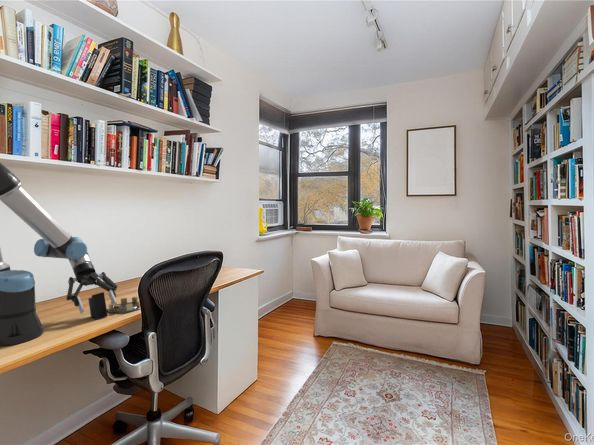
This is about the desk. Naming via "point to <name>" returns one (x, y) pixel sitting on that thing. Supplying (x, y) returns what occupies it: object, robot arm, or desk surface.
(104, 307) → the speaker
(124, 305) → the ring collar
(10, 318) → the robot arm
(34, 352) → the desk surface
